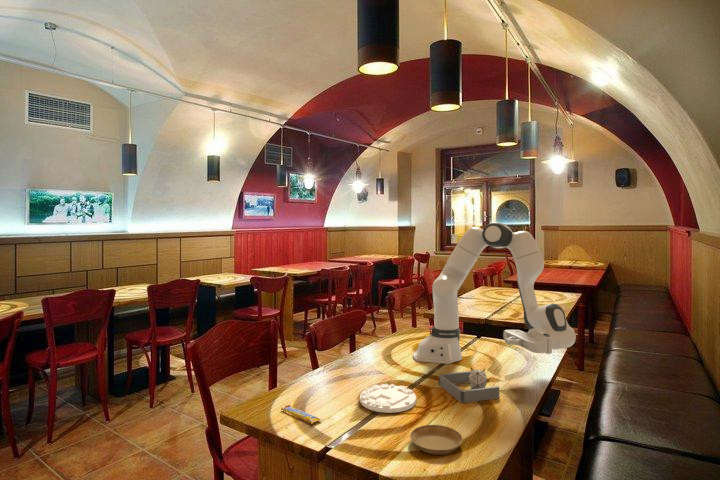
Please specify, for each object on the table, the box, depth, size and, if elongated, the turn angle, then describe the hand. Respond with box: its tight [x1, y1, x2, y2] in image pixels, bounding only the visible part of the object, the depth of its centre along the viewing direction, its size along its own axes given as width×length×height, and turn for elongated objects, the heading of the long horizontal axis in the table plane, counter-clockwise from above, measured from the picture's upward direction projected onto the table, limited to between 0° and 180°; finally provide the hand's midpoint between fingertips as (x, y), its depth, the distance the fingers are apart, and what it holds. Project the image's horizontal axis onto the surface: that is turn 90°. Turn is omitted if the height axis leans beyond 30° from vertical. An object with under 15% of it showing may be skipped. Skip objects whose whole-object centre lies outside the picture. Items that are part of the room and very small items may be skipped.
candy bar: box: [280, 404, 323, 425], centre depth 143 cm, size 17×4×2 cm, turn 48°
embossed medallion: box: [359, 383, 417, 414], centre depth 154 cm, size 20×20×3 cm
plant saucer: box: [409, 424, 464, 456], centre depth 124 cm, size 15×15×3 cm
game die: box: [466, 367, 490, 390], centre depth 164 cm, size 9×8×10 cm
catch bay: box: [438, 370, 500, 404], centre depth 163 cm, size 15×18×4 cm
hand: (506, 341), depth 170 cm, fingers closed
